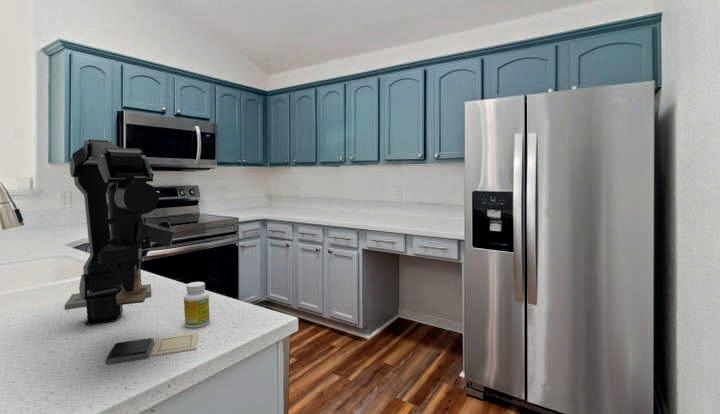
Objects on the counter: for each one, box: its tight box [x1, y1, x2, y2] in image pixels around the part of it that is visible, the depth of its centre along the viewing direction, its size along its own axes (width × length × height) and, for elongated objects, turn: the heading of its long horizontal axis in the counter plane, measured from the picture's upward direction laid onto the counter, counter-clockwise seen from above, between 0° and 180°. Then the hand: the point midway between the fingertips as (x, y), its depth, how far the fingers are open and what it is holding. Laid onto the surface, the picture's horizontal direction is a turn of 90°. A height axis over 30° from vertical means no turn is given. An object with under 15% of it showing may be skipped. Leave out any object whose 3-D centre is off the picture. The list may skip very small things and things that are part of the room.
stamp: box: [116, 266, 147, 306], centre depth 75 cm, size 4×4×6 cm
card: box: [151, 332, 199, 357], centre depth 79 cm, size 8×8×1 cm
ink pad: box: [105, 337, 155, 365], centre depth 75 cm, size 7×7×1 cm
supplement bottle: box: [183, 281, 210, 329], centre depth 89 cm, size 5×5×10 cm
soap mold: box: [64, 283, 152, 311], centre depth 108 cm, size 10×20×4 cm, turn 120°
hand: (131, 289), depth 75 cm, fingers closed on stamp, 3 cm apart
